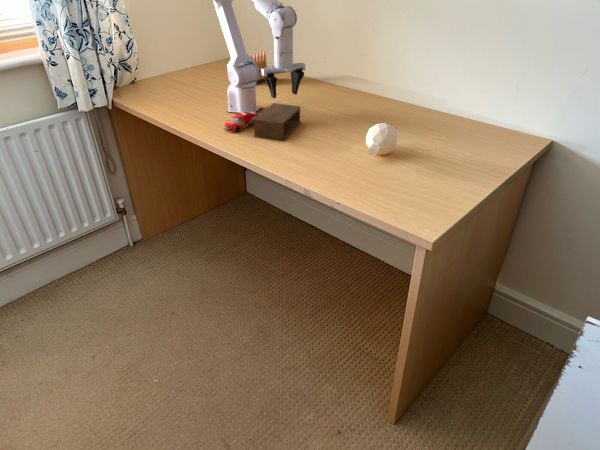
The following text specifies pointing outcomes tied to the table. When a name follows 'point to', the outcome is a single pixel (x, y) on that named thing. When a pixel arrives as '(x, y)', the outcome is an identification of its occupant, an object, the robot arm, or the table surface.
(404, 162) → the table surface
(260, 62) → the ammunition clip
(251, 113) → the race car
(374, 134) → the white faceted rounded lump
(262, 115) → the shelf
